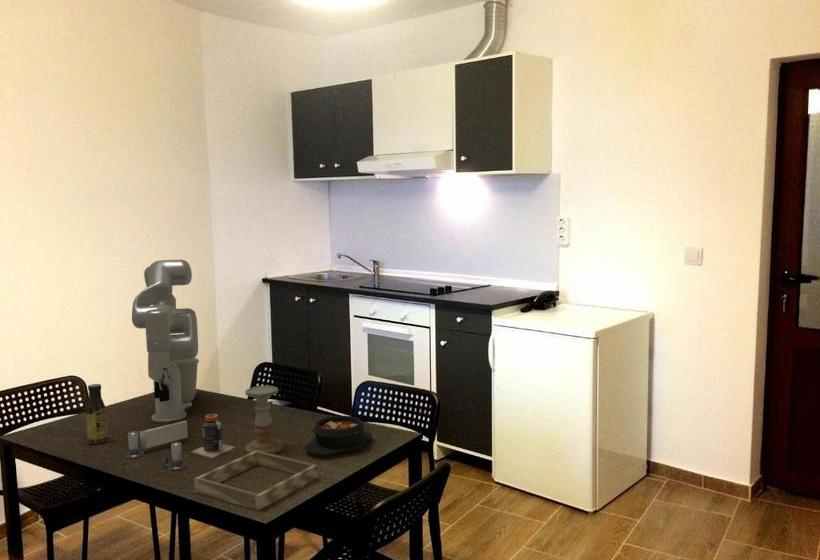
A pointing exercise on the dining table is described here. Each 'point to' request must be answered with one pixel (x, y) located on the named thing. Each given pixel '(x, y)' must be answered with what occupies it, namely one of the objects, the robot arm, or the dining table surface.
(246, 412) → the dining table surface
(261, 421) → the candle holder
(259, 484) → the dining table surface
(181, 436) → the gate
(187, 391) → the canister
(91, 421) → the sauce bottle
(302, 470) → the square wooden frame
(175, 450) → the gate posts
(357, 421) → the casserole
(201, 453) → the coaster
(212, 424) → the pill bottle
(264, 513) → the dining table surface
